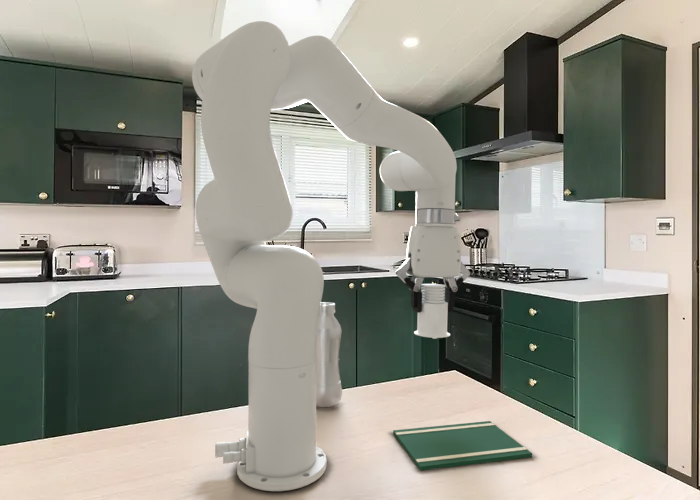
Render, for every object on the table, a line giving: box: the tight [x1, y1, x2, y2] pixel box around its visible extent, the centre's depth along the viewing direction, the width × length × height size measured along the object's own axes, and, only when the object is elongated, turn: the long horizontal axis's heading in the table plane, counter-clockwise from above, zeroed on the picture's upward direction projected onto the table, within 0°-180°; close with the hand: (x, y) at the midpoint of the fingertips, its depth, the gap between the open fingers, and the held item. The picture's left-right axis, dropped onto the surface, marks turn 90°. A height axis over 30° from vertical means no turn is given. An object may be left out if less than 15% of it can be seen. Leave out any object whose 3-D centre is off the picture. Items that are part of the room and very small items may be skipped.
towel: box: [392, 420, 533, 471], centre depth 70 cm, size 18×12×1 cm, turn 103°
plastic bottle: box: [316, 301, 343, 408], centre depth 86 cm, size 6×7×20 cm
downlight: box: [413, 283, 451, 340], centre depth 87 cm, size 8×7×10 cm
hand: (432, 310), depth 87 cm, fingers closed on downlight, 5 cm apart
